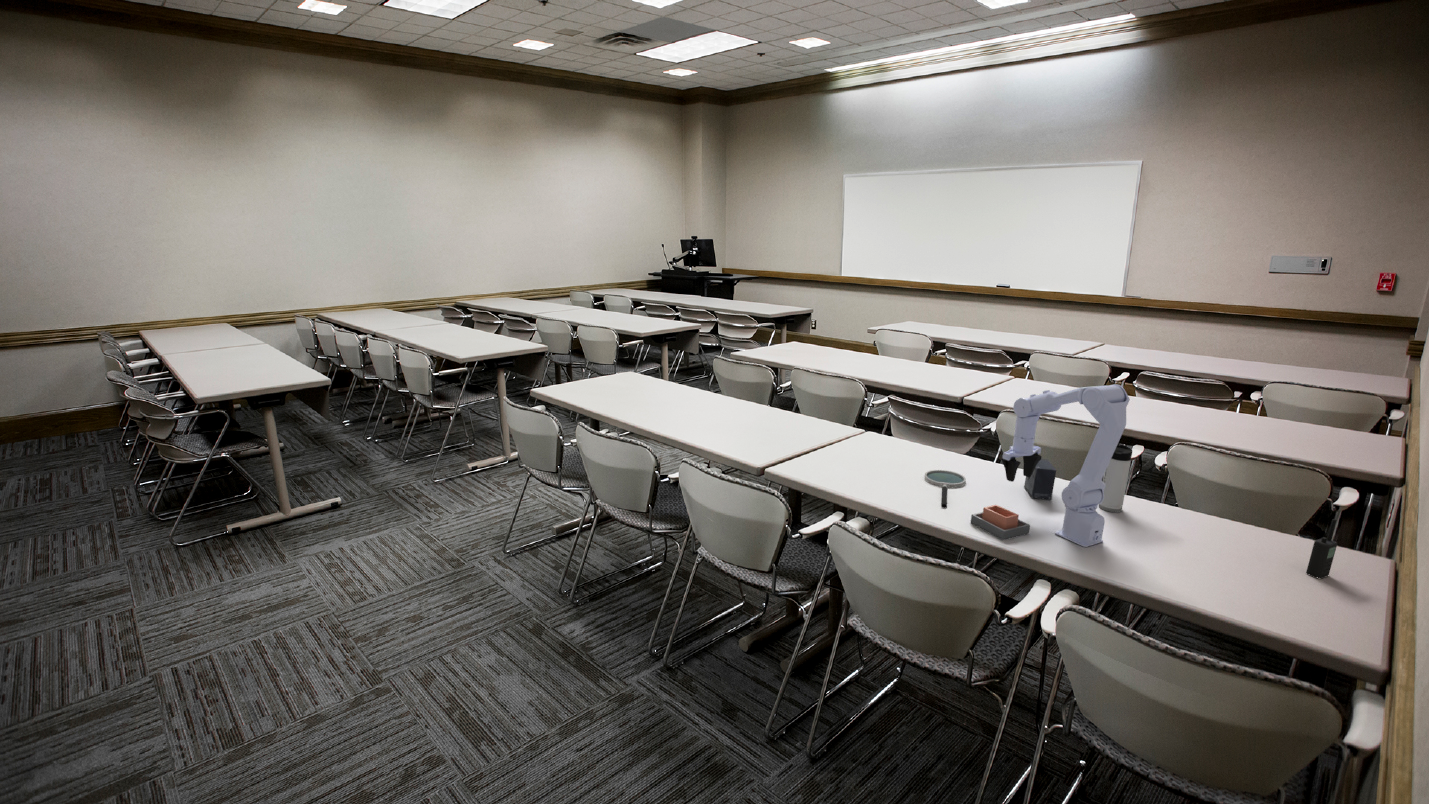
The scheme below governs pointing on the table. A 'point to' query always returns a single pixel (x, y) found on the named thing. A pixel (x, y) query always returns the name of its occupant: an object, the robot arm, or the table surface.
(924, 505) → the table surface
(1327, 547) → the walkie-talkie
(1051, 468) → the small box
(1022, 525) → the charcoal crate
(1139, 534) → the table surface
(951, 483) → the magnifying glass
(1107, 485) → the travel mug
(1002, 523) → the terracotta crate
